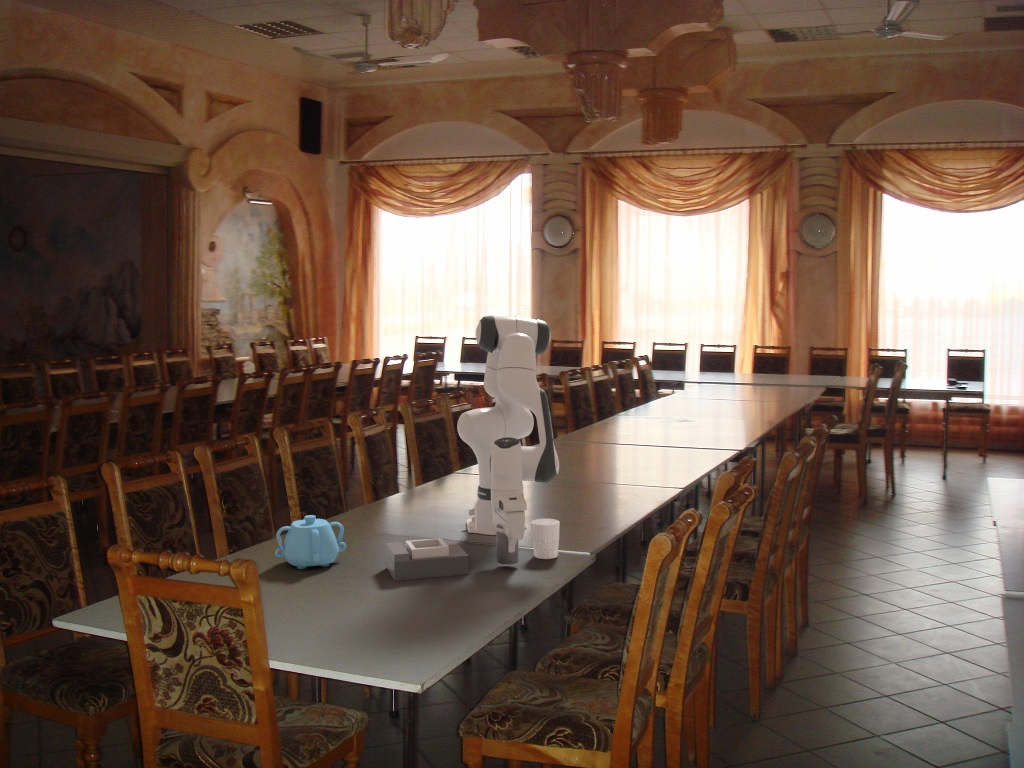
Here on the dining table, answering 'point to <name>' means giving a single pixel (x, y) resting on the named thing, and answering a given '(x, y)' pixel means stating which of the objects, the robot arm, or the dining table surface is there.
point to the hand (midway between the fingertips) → (507, 548)
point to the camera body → (425, 559)
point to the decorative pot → (310, 542)
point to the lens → (504, 548)
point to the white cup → (545, 538)
